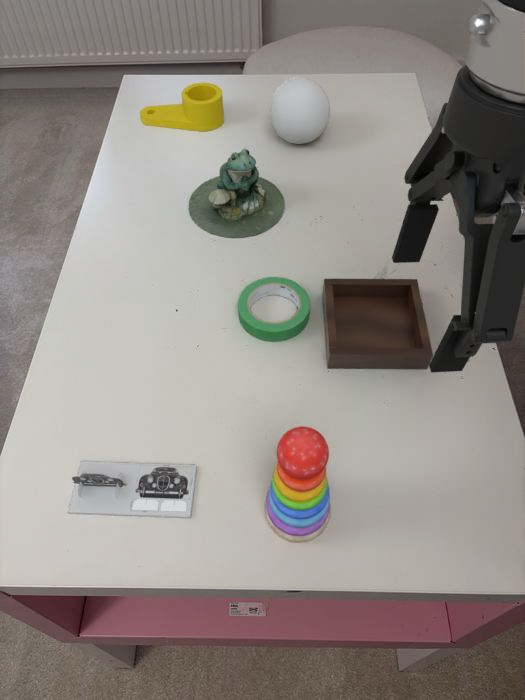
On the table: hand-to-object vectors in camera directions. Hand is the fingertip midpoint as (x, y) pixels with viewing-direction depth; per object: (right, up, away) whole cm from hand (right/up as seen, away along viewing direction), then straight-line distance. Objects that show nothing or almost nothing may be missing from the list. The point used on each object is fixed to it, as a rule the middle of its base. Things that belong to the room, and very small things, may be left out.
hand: (423, 309), depth 49 cm
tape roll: (-13, +2, +33) cm, 35 cm away
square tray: (+2, -1, +31) cm, 31 cm away
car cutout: (-31, -21, +17) cm, 41 cm away
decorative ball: (-8, +40, +60) cm, 72 cm away
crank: (-32, +46, +64) cm, 85 cm away
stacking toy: (-11, -24, +15) cm, 30 cm away
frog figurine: (-20, +23, +48) cm, 57 cm away
